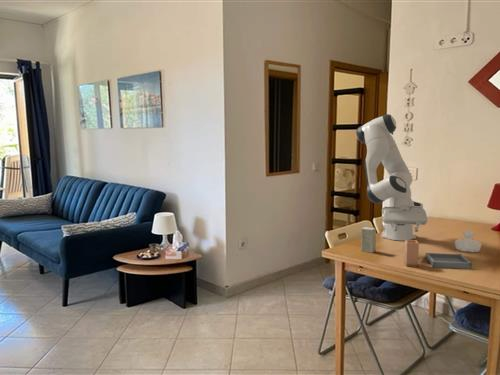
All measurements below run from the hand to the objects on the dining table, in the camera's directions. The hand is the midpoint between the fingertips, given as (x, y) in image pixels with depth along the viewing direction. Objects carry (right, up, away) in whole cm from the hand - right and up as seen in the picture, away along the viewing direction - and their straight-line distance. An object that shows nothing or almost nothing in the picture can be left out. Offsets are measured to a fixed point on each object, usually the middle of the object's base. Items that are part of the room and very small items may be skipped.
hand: (406, 230), depth 191 cm
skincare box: (-14, -12, +16) cm, 24 cm away
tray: (+17, -14, -5) cm, 23 cm away
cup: (-1, -15, -7) cm, 17 cm away
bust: (+37, -12, +14) cm, 41 cm away
